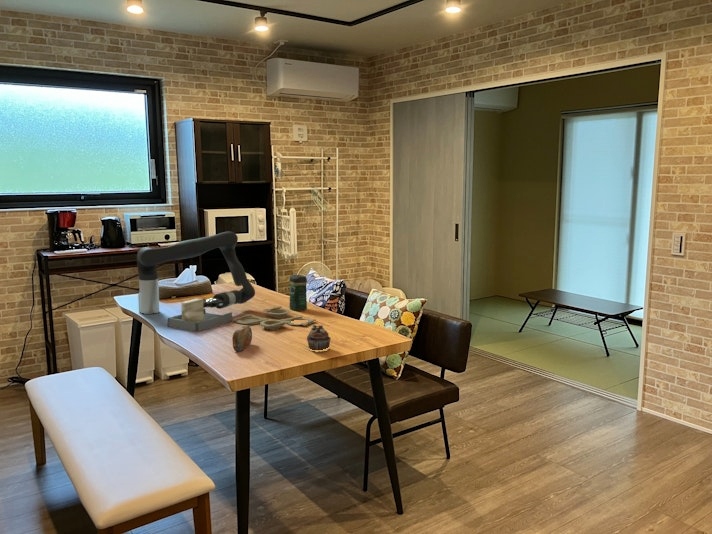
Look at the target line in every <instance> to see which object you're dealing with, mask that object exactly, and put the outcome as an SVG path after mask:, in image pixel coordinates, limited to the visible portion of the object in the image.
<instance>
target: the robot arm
mask: <svg viewBox="0 0 712 534" xmlns="http://www.w3.org/2000/svg"><path fill="white" fill-rule="evenodd" d="M238 238H239V237H238V235H237V234H236V233H235V232H234V231H230V230H229V231H224V232H220V233H217V234H213V235H209V236H203V237H199V238H194V239H192V238H191V239H186V240H182V241H178V242H175V243H174V244H171V245H169V246H163V247H156V248H152V247H148V246H145V247H144V246H143V247H141V248H140V249H139V250H138V251H137V255H136V264H137V266H136V267H137V273H138V274H137V275H138V287H139V293H138V294H137V295H138V296H137V297H138V298H137V299H138V300H137V301H138V312H139V313H140V312H141V313H140V314H142V313H144V314H143V315H151V314H153V313H154V314H157V313H160V293H159V290H160V289H159V287H160V286H159V273H158V269H157V265H160V264H163V263H167V262H172V261H179V260H185V259H186V260H187V259H190V258H195V257H198V256H199V257H200V256H201V255H203V254H205V253H207V252H209V251H212V250H214V249H217V248H219V250H220V252H221V254H222V256H223V257H224V260H225V261H226V263H227V265H228V269H229V271H230V274H231V276H232V279H233V283H234V285H235V286H236V287H241V286H242V288H241V289H239V290H237V289H234V290H229V291H223V292H219V293H216V294H214V295H213V297H211V298H209V299H205V298H202V299H203V307H204V309H207V308H211V309H212V308H216V309H217V310H218V309H224V308H228V307H231V306H233V305H237V304H240V305H241V304H245V303H247V302H248V301H250V300H251V299H252V298H254V297H255V296H256V291H255V290H256V289H255V288H254V286H253V285H252V283H251V282H250V280H249V279H248V277H247V274H246V271H245V268H244V267H243V265H242V263H241V262H240V260H239V259H238V256H237V253H236V246H237V245H238V241H239V240H238Z"/></svg>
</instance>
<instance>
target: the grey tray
mask: <svg viewBox="0 0 712 534" xmlns="http://www.w3.org/2000/svg"><path fill="white" fill-rule="evenodd" d="M232 321H233V312H228V313H225V314H216V313H210V312H206V308H204V320H203V321H200V322H191V321H185V320H182V313H181V314H177V315H174V316H171V317H170V316H169V317H167V327H168V326H170V327H169V328H173V327H174V328H175V329H178V328H180V330H184V329H185V331H190V332H195V333H198V332H201V331H204V329H205V330H208V329H210V327H211V328H214V327H218V326H220V324H221V325H223V323H224V324H227V323H230V322H232ZM207 328H208V329H207Z"/></svg>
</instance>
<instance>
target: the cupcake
mask: <svg viewBox="0 0 712 534" xmlns="http://www.w3.org/2000/svg"><path fill="white" fill-rule="evenodd" d="M331 339H332V338H331V337H330V336H329V332H328V331H327V330H326V329H325V328H324V326H323V325H314V324H313V326H312V327H311V328H310V331H309V332H308V334H307V337H306V341H307V344H308V349H309V348H310V349H312V350H323V349H326V348H328V347H329V348H330V345H331V344H330V343H331Z"/></svg>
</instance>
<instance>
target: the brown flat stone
mask: <svg viewBox="0 0 712 534" xmlns="http://www.w3.org/2000/svg"><path fill="white" fill-rule="evenodd" d="M252 331H253V330H252V328H251V326H250V325H246V326H245V325H243V326H241V327H239V328H238V329H236V330H235V331H234V332H233V335H232V349H234V351H237V352H243V351H244V350H245V349H247V348H248V347H249V346H251V343H252V339H253V333H252ZM247 346H248V347H247ZM246 347H247V348H246ZM244 348H245V349H244ZM243 349H244V350H243ZM242 350H243V351H242Z"/></svg>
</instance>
